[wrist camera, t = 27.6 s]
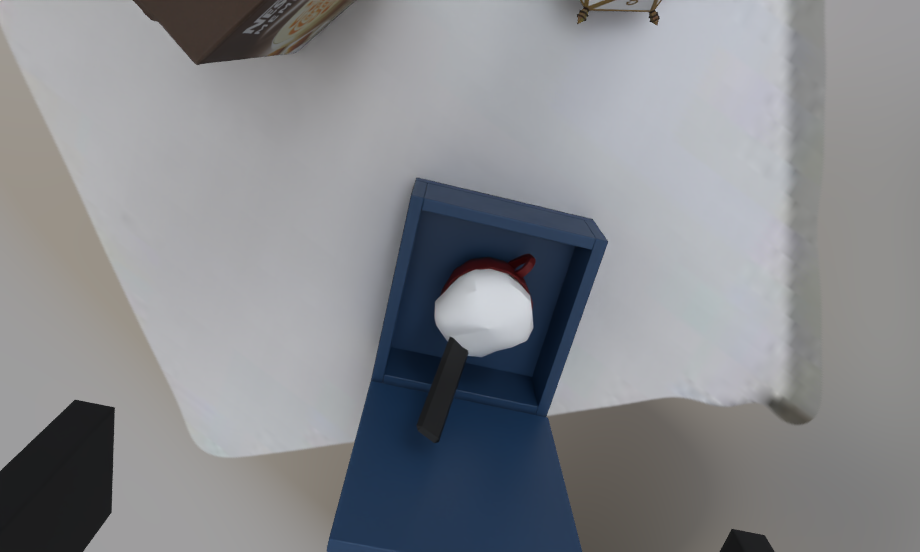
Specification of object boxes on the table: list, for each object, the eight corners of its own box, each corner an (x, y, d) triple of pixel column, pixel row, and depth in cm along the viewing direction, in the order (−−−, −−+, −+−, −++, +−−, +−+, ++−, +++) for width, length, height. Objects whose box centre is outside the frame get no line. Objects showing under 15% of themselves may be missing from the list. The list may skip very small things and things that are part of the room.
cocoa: (522, 226, 42) (544, 297, 30) (555, 301, 44) (587, 394, 33) (399, 278, 43) (377, 365, 32) (437, 349, 45) (428, 453, 34)
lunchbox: (416, 177, 41) (411, 195, 37) (593, 219, 42) (608, 241, 38) (379, 348, 46) (370, 382, 42) (538, 381, 47) (545, 418, 43)
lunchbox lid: (328, 538, 28) (306, 645, 30) (591, 587, 29) (551, 686, 31) (370, 380, 41) (353, 461, 43) (548, 417, 42) (522, 494, 44)
